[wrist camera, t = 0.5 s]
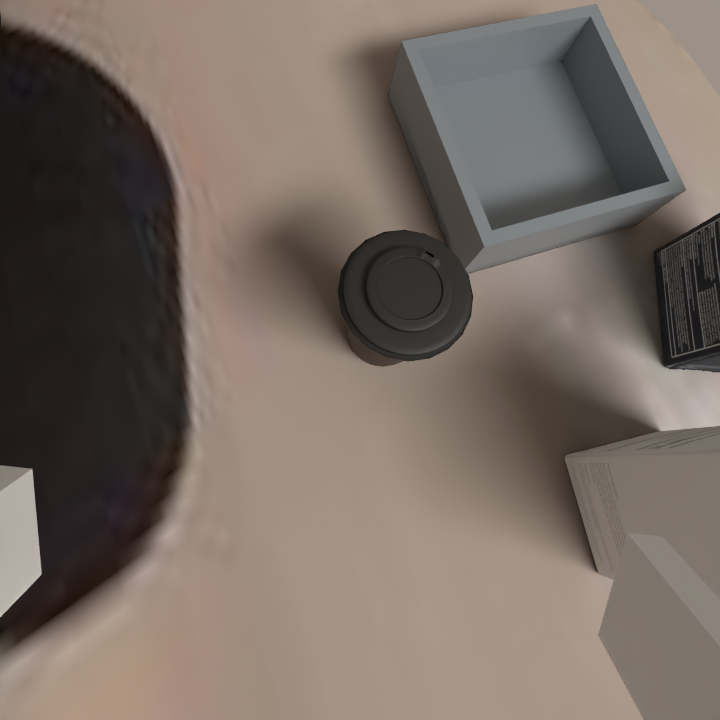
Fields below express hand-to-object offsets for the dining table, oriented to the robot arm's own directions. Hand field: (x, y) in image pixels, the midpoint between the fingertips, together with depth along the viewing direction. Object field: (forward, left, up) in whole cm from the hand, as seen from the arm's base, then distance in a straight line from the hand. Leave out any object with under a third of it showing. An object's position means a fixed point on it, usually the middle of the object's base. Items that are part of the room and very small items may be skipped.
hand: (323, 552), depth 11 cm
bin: (-20, +25, -24) cm, 40 cm away
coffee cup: (-9, +9, -24) cm, 27 cm away
